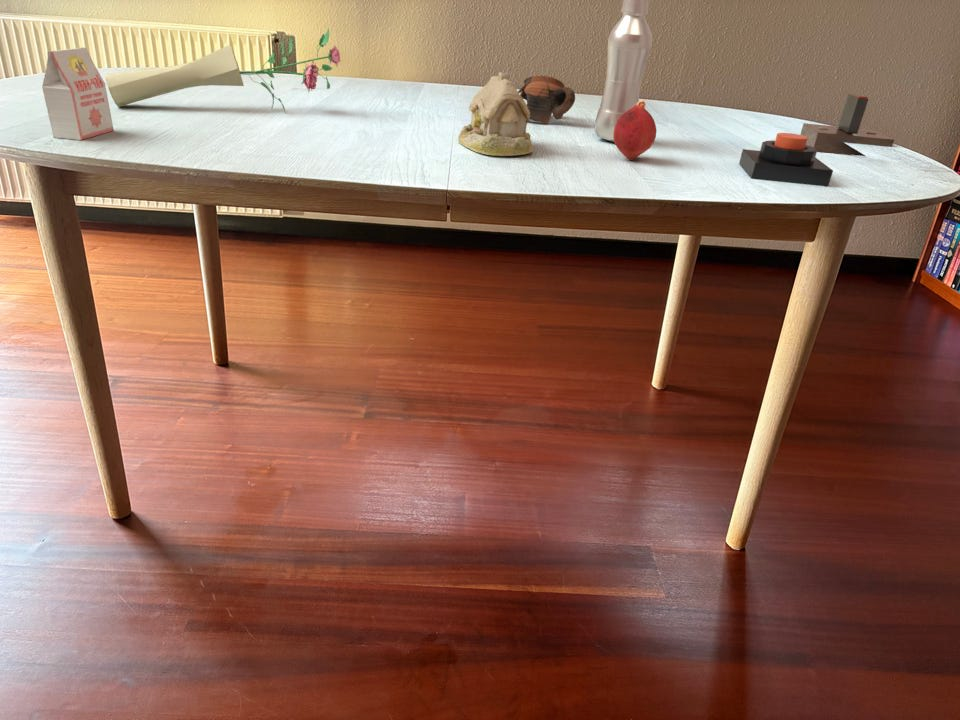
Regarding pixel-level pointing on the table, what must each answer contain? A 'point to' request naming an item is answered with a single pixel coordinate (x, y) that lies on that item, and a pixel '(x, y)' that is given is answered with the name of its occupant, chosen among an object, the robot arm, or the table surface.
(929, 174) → the table surface
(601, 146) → the table surface
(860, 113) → the dark grey rectangular block
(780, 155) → the button housing
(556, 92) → the pottery mug
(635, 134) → the onion
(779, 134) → the button
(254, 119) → the table surface
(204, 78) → the flower vase
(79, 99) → the white gable-top carton
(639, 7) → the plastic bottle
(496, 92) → the ceramic model
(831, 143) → the brown switch base
